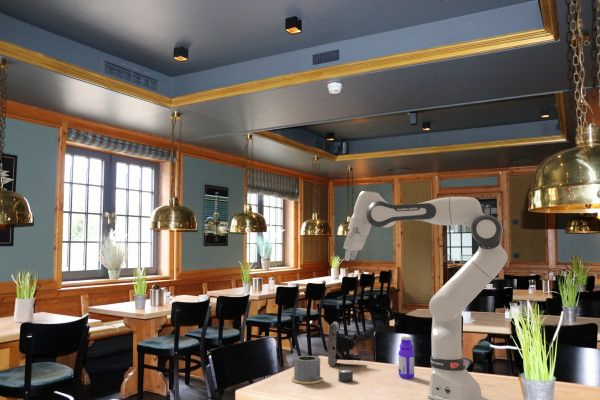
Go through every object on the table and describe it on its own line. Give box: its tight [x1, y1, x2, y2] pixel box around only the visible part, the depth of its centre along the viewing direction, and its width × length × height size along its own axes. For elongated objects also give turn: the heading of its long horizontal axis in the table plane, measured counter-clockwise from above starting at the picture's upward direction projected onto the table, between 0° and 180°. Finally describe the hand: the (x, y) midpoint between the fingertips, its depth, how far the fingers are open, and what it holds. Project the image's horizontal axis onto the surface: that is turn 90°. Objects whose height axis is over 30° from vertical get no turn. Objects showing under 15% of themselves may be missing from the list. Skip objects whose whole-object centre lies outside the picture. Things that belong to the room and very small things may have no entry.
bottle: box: [398, 335, 415, 380], centre depth 224 cm, size 7×6×17 cm
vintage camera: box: [327, 320, 363, 367], centre depth 247 cm, size 10×16×20 cm, turn 79°
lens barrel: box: [291, 355, 324, 385], centre depth 218 cm, size 13×13×9 cm
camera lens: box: [338, 369, 354, 383], centre depth 218 cm, size 6×6×4 cm
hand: (349, 259), depth 215 cm, fingers open, 8 cm apart
